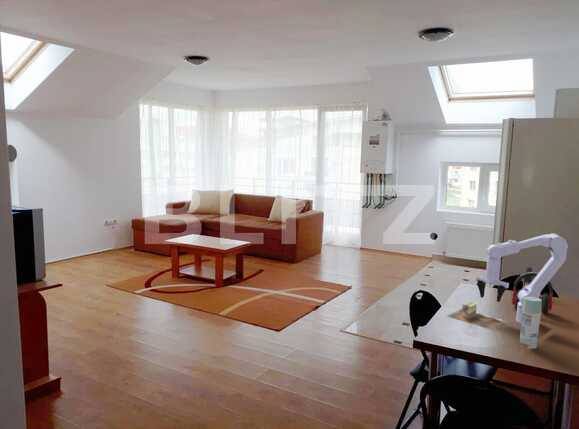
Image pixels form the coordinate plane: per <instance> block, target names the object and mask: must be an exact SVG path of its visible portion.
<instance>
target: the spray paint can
mask: <svg viewBox="0 0 579 429" xmlns="http://www.w3.org/2000/svg"><path fill="white" fill-rule="evenodd" d="M541 306H542V298H540V297H539V298H537V297H531V296H526V297H524V299H523V310H522V321H521V323H520V332H519V333H520V336H519V342H520V343H521V344H522V345H525V346H526V347H525V349H526V350H527V349H528V350H536V349H537V347H538V340H539V339H538V338H539V332H540V331H539V329H540V324H539V322H540V323H541V319H540V313H541V314H542V310H541Z"/></svg>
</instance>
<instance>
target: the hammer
mask: <svg viewBox="0 0 579 429" xmlns="http://www.w3.org/2000/svg"><path fill="white" fill-rule="evenodd" d="M527 272H533V268H532V267H531V266H527V267H526V269H525V272H524V273H527ZM534 278H535V276H529V277H525V278H523V279H522V280H523V282H522V288H521V290H522V289H524V288H525V287H526V286H527V285H529V284H531V282H532V281H533V280H534Z"/></svg>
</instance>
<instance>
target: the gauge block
mask: <svg viewBox="0 0 579 429" xmlns="http://www.w3.org/2000/svg"><path fill="white" fill-rule="evenodd" d="M477 304H478V303H475V302H471V301H466V302H465V303H464V302H463V304H461V306H462V307H461V309H462V317H465V318H468V319H471V318H473V317H475V316H476V313H477V307H478V306H477Z"/></svg>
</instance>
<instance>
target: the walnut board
mask: <svg viewBox="0 0 579 429" xmlns="http://www.w3.org/2000/svg"><path fill="white" fill-rule="evenodd" d="M446 317H448V318H451V319H455V320H459V321H462V322H465V323H467V324H471V325H475V326H478V327H482V328H484V329H488V330H491V331H495V330H496V329H498V328H500V327H502V326H503V325H505V324H507V323H509V321H508V320H504V319H501V318H497V317H494V316H490V315H486V314H482V313H479V312H476V316H475V317H473V318H471V319H468V318H465V317H462V308H459V310H456V311H454V312H452V313H450V314H448V315H446Z"/></svg>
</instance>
